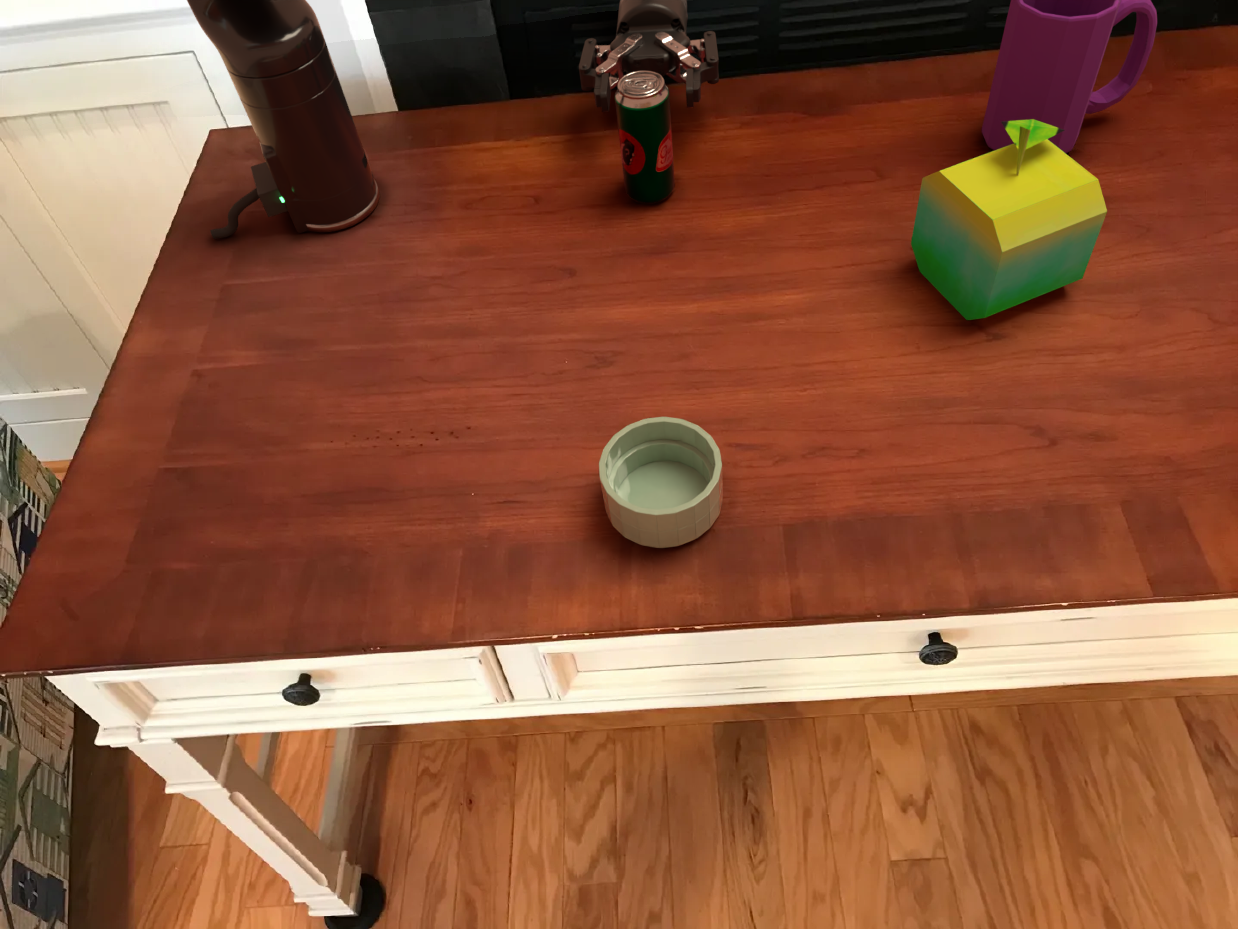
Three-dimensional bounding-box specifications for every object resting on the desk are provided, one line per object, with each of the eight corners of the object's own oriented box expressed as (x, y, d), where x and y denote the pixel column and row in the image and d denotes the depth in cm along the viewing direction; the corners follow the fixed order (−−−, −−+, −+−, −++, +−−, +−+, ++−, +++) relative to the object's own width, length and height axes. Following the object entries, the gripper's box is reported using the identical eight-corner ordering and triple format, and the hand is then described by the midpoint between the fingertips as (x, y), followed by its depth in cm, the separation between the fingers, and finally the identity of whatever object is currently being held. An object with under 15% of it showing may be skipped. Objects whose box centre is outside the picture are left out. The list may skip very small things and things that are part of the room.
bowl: (632, 569, 73) (626, 532, 69) (589, 480, 78) (581, 441, 74) (742, 525, 74) (742, 487, 70) (693, 441, 79) (690, 401, 75)
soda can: (670, 207, 98) (663, 99, 88) (621, 205, 98) (608, 98, 89) (678, 176, 100) (672, 68, 91) (630, 174, 101) (618, 67, 92)
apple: (1076, 294, 85) (1131, 145, 73) (979, 333, 83) (1020, 187, 72) (999, 224, 91) (1038, 76, 80) (907, 259, 90) (933, 114, 78)
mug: (963, 124, 101) (993, -20, 89) (1098, 87, 103) (1146, -60, 91) (1010, 175, 96) (1049, 28, 84) (1153, 135, 97) (1211, -15, 85)
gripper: (583, -13, 105) (571, 71, 95) (717, -22, 104) (718, 62, 94) (592, 52, 111) (580, 138, 101) (718, 45, 110) (719, 131, 100)
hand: (647, 101), depth 98 cm, fingers open, 8 cm apart
